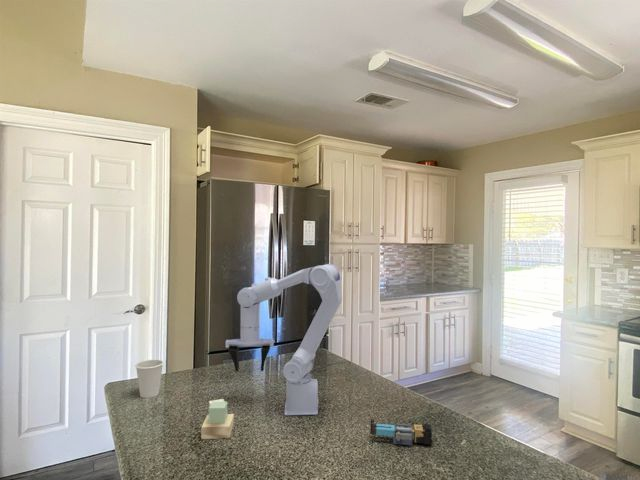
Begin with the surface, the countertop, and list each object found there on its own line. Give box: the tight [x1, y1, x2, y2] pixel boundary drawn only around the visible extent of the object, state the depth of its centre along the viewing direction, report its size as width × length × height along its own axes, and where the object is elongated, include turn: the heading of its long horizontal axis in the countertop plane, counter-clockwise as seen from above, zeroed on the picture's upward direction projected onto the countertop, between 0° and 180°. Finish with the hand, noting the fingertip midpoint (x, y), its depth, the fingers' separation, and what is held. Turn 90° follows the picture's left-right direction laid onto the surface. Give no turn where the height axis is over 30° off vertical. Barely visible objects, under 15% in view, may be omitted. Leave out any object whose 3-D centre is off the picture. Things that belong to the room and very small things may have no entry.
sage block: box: [208, 401, 229, 424], centre depth 100 cm, size 4×4×4 cm
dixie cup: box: [135, 359, 165, 399], centre depth 124 cm, size 8×8×10 cm
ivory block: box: [208, 398, 226, 408], centre depth 109 cm, size 4×4×4 cm
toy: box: [370, 418, 433, 447], centre depth 96 cm, size 6×4×15 cm
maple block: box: [200, 413, 235, 440], centre depth 100 cm, size 7×7×3 cm
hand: (249, 370), depth 119 cm, fingers open, 7 cm apart
